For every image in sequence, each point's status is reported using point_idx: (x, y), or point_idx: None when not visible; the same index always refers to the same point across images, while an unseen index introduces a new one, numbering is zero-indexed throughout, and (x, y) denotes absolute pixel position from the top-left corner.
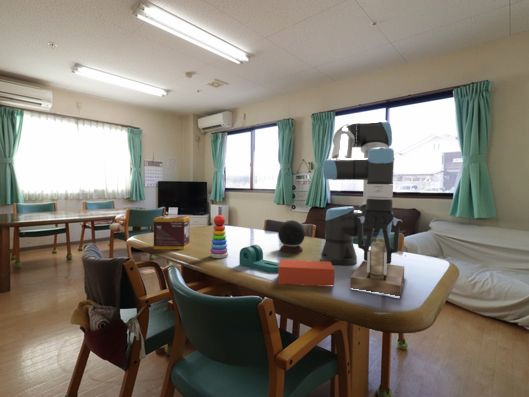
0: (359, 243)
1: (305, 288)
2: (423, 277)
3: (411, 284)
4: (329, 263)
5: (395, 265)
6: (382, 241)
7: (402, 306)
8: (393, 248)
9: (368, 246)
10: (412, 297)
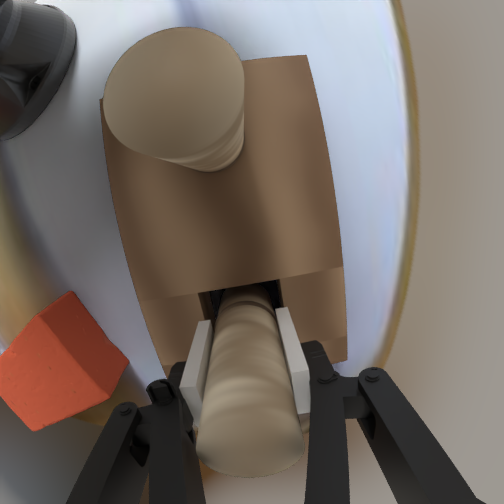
0: (137, 458)
1: (98, 406)
2: (353, 37)
3: (342, 149)
4: (51, 342)
5: (264, 63)
6: (192, 153)
7: (343, 372)
8: (361, 426)
9: (195, 449)
10: (364, 292)
